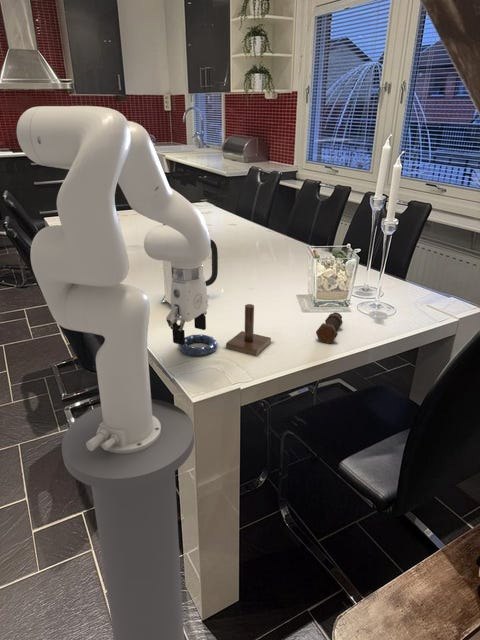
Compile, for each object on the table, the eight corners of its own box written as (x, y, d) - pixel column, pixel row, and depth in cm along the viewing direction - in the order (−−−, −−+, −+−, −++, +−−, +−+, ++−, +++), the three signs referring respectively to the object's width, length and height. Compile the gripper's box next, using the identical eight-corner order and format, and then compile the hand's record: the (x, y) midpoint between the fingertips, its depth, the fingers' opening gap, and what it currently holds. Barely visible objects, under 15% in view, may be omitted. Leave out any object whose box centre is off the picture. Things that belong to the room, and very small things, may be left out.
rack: (256, 355, 120) (257, 314, 115) (226, 348, 124) (225, 308, 119) (270, 342, 127) (272, 303, 123) (241, 335, 131) (242, 297, 127)
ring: (204, 360, 117) (204, 353, 117) (171, 351, 122) (170, 344, 121) (224, 345, 126) (224, 338, 125) (192, 337, 130) (191, 330, 129)
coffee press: (200, 315, 144) (197, 218, 132) (153, 309, 148) (146, 214, 137) (218, 297, 159) (218, 208, 148) (175, 292, 164) (171, 205, 152)
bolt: (338, 328, 141) (327, 347, 128) (324, 318, 141) (312, 336, 128) (349, 314, 138) (339, 332, 125) (335, 304, 138) (324, 321, 125)
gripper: (179, 285, 103) (183, 353, 110) (218, 264, 117) (219, 326, 124) (152, 280, 107) (157, 346, 114) (193, 260, 120) (196, 320, 128)
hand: (190, 335), depth 119 cm, fingers open, 9 cm apart
